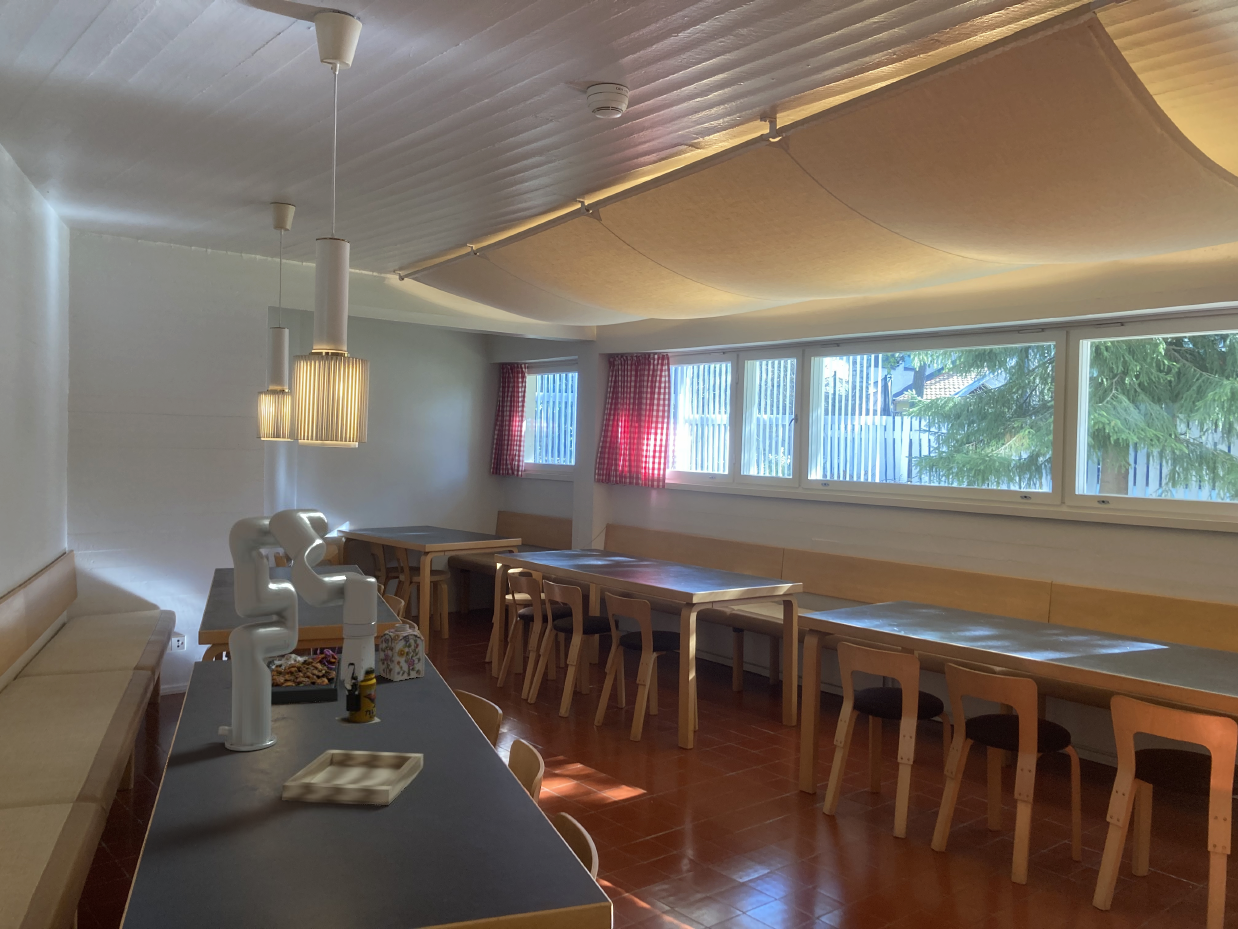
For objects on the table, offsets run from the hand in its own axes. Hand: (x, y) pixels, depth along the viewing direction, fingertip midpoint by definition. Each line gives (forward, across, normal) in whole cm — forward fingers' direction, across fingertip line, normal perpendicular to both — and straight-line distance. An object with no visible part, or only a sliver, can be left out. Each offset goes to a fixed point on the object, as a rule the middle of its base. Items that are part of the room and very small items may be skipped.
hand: (358, 706), depth 206 cm
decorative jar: (+18, -101, -22) cm, 105 cm away
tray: (+18, +1, 0) cm, 18 cm away
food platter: (+19, -85, -51) cm, 101 cm away
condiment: (+3, 0, 0) cm, 3 cm away
